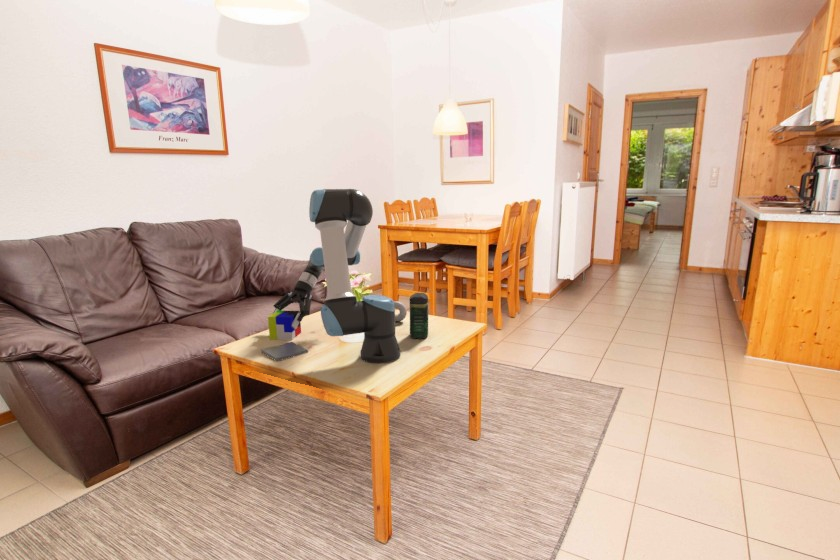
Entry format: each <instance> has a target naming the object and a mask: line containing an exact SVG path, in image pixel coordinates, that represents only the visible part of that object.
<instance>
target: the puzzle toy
mask: <svg viewBox="0 0 840 560" xmlns="http://www.w3.org/2000/svg"><path fill="white" fill-rule="evenodd" d="M298 313H300V310H281V311H277V312H275V313H272V314H271V315H268V316H267V323H268V331H269V340H276V341H277V340H279V341H280V340H281V341H282V340H283V341H285V340H286V341H293V340H294V339H295V338H296V337H298V336H299V335H300V334H302V325H301V324H302V323H301V322H299V324H298V326H297V328H296V329H294V328H293V327H292V323H293V321H294V319H295V318H296V316H297V314H298Z"/></svg>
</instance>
